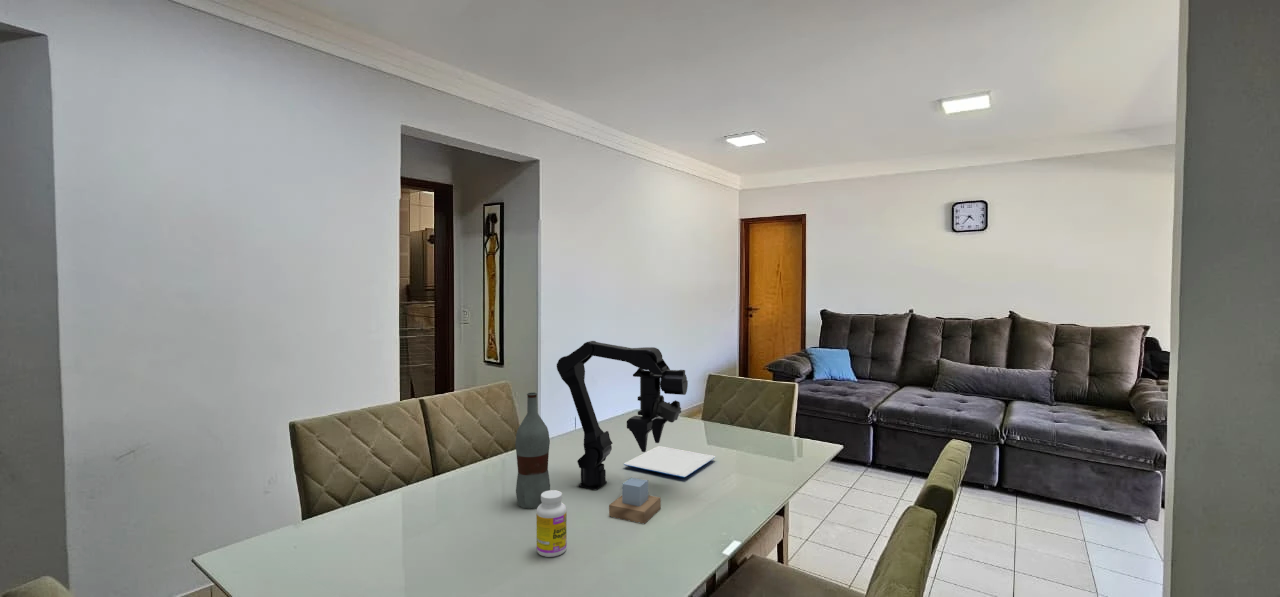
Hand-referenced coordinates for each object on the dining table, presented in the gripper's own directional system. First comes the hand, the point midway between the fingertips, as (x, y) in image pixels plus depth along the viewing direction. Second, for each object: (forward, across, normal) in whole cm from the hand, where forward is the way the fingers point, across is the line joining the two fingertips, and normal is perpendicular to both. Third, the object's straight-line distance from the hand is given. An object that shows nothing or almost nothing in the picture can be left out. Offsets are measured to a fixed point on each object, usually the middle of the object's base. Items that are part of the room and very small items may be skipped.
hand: (650, 447), depth 156 cm
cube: (+10, -14, -2) cm, 17 cm away
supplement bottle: (+13, -40, +6) cm, 43 cm away
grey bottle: (+13, -20, +26) cm, 35 cm away
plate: (+13, +24, +4) cm, 28 cm away
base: (+13, -14, -2) cm, 19 cm away
